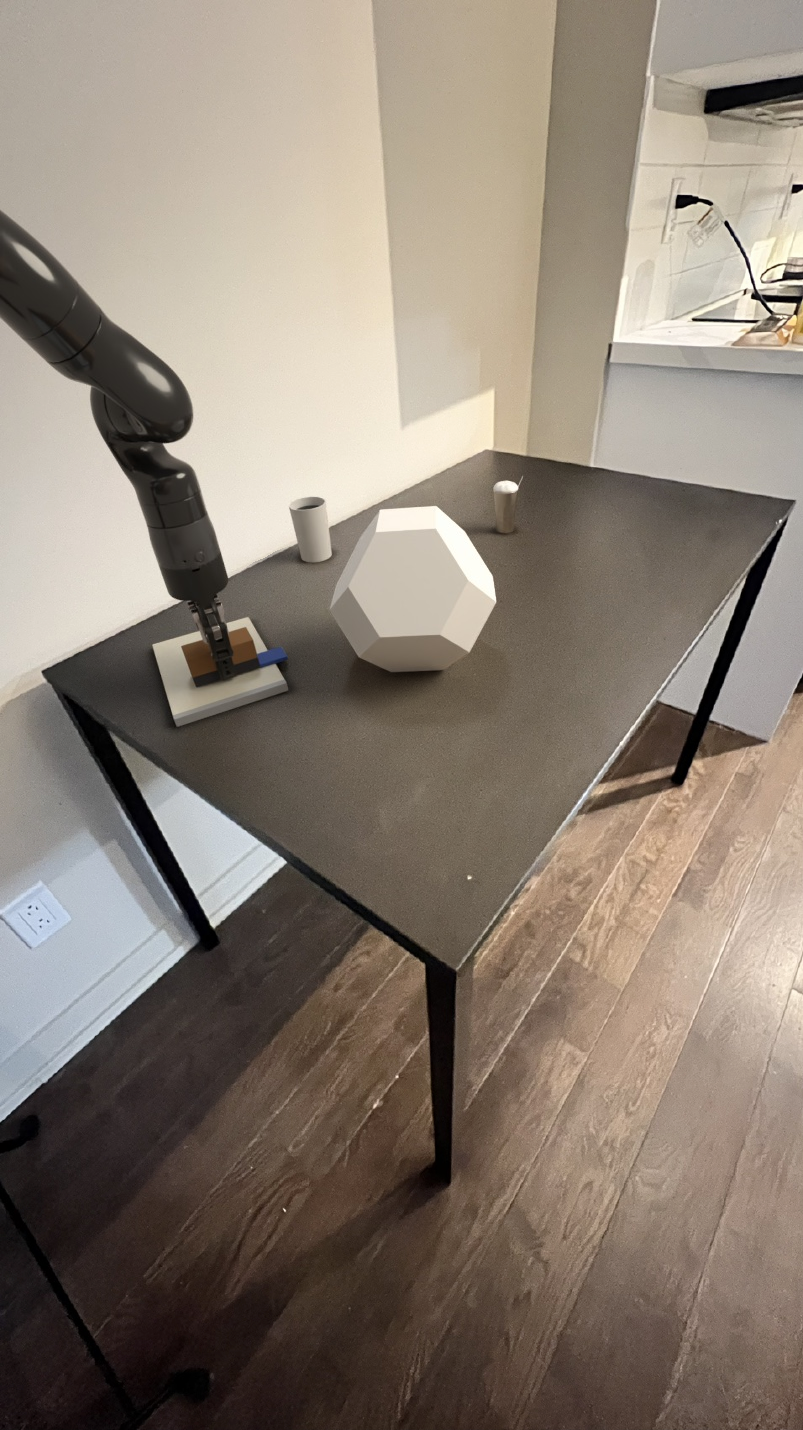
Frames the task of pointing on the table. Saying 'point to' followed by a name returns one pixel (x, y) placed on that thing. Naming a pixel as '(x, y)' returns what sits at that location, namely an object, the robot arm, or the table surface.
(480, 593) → the geometric form
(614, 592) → the table surface
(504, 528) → the milkshake
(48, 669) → the table surface
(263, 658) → the blue rectangular block
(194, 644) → the eraser
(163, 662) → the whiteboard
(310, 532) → the white cup
